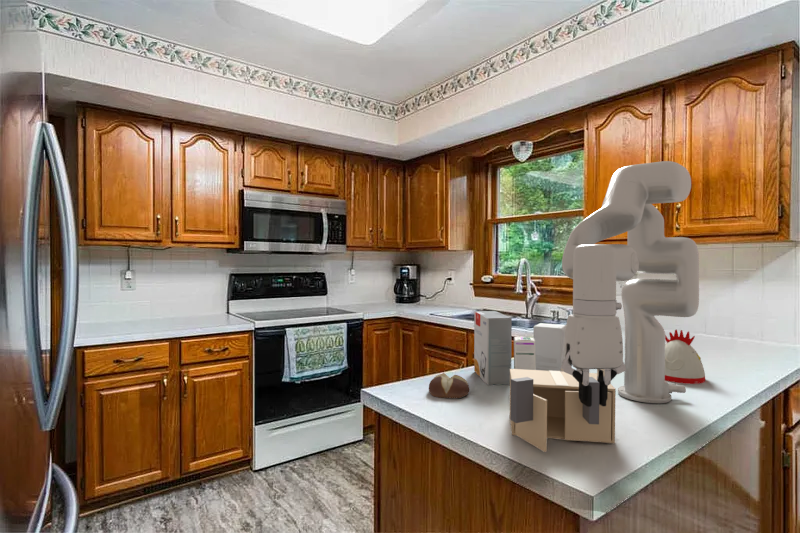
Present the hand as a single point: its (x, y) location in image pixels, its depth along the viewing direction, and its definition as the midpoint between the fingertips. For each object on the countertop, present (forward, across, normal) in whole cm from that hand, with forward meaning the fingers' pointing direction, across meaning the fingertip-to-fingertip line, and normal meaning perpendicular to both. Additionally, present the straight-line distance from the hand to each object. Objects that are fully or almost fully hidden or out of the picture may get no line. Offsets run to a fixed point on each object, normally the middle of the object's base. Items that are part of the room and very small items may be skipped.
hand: (592, 403), depth 84 cm
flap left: (+9, +13, -2) cm, 16 cm away
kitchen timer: (+9, -54, -48) cm, 73 cm away
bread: (+10, +21, -38) cm, 44 cm away
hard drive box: (+9, +5, -52) cm, 53 cm away
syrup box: (+9, -1, -40) cm, 41 cm away
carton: (+9, +2, -11) cm, 15 cm away
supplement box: (+9, -17, -60) cm, 63 cm away
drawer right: (+9, 0, -1) cm, 9 cm away
